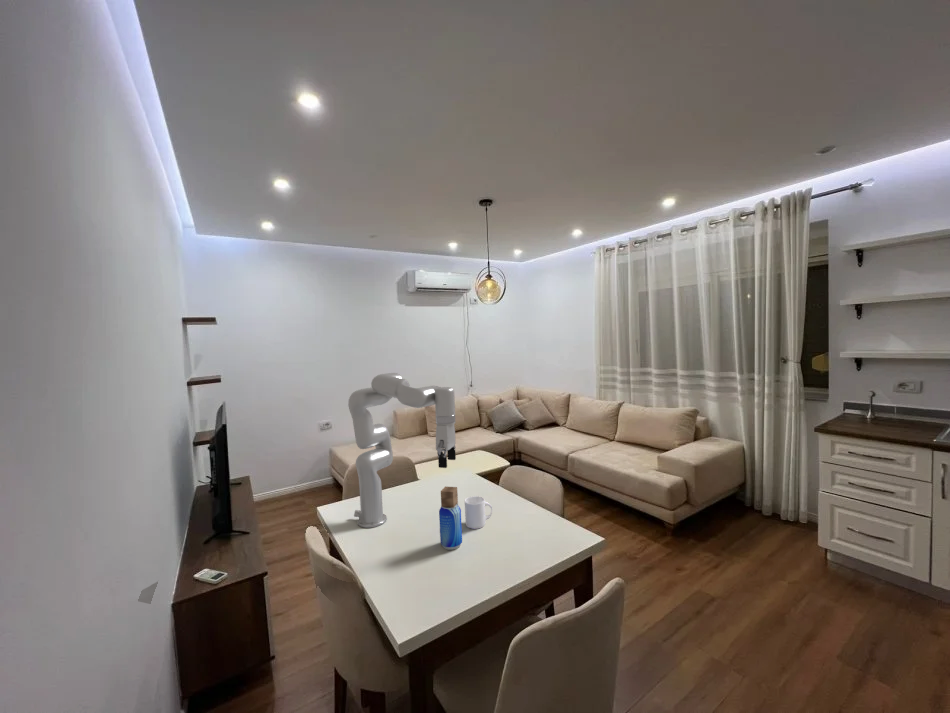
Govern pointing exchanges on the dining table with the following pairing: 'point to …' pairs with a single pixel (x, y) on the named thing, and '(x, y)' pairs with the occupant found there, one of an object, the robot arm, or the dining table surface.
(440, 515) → the beer can
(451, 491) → the walnut block
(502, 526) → the dining table surface
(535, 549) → the dining table surface
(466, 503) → the mug
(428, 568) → the dining table surface
